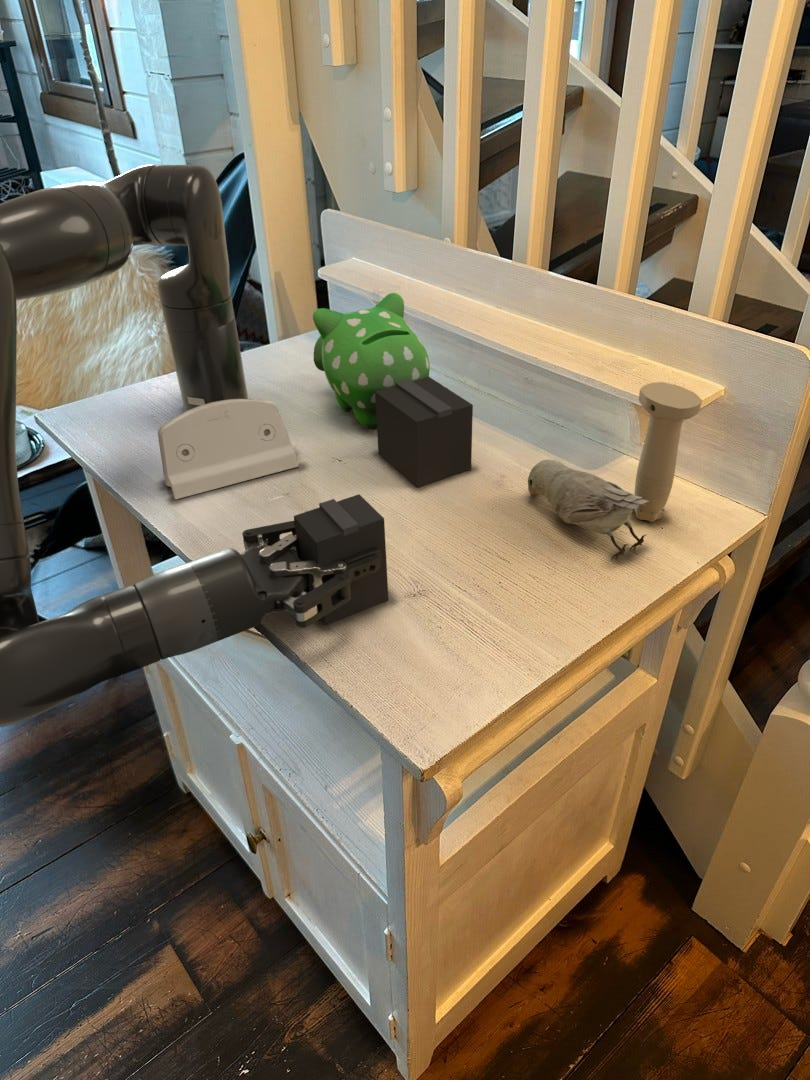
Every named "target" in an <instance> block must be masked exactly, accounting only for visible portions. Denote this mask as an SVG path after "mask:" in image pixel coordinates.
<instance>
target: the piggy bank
mask: <svg viewBox="0 0 810 1080" xmlns="http://www.w3.org/2000/svg"><path fill="white" fill-rule="evenodd" d="M404 314H405V301H404V299H403V297H402V295H400V294H399V293H396V292H391V293H388V294H386V295H385V296H384V297H383V298H382V299H381V300H379V302H377V303H376V304H375V305H374V306H373V307H368V308H364V309H359V310H355V311H350V312H346V313H343V312H339V311H336V310H332V309H329V308H324V307H322V308H317V309H316V310H314V311H313V313H312V321H313V324H314V326H315V327H316V330H317V331H318V334H319V337H318V338H317V340H316V341H315V344H314V347H313V362H314V365H315V367H316V368H317V369H318V370H319V371H321V372H324V374H325V377H326V380H327V383H328V385H329V386H330V388H331V390H332V391H333V392H334V395H335V398H336V402H337V405H338V406H339V407H340V408H341V410H342V411H344V412H351V411H353V413H354V416H355V418H356V420H357V421H358V422H359V424H360V425H361V426H363V427H364V428H366V429H369V430H372V429H377V419H376V401H375V391H378V390H382V389H385V388H389V387H393V386H395V383H396V382H400V381H403V380H407V379H409V380H411V381H414V380H418V379H422V378H425V377H430V370H431V369H430V367H431V366H430V363H431V362H430V358H429V355H428V352H427V349H426V347H425V346H424V344H423V342H422V341H421V339H420V338H419V337H418V336H417V335H416V334H415V332H414V331H413V330H412V329H411V327H410V326H409V324H407V322H406V321H405V319H404Z"/></svg>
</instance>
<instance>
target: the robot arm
mask: <svg viewBox="0 0 810 1080" xmlns="http://www.w3.org/2000/svg"><path fill="white" fill-rule="evenodd" d="M226 237H227V236H226V227H225V219H224V210H223V201H222V196H221V191H220V189H219V185H218V183H217V180H216V178H215V176H214V174H213V173H212V172H211V171H210V170H209V168H207V167H205V166H204V165H198V164H197V165H196V164H146V165H141V166H138V167H136V168H132V169H131V170H128V171H125V172H124V173H122V174H120V175H118V176H115V177H114V178H111V179H109V180H107V181H104V182H103V181H102V182H97V181H96V182H95V181H82V182H75V183H74V182H73V183H65V184H61V185H55V186H51V187H46V188H42V189H41V188H40V189H38V190H35V191H32V192H29V193H26V194H23V195H20V196H17V197H15V198H12V199H8V200H7V201H3V202H1V203H0V728H4V727H8V726H13V725H16V724H18V723H22V722H24V721H27V720H29V719H32V718H34V717H37V716H39V715H41V714H44V713H45V712H48V711H50V710H52V709H54V708H56V707H58V706H60V705H62V704H64V703H66V702H68V701H70V700H71V699H73V698H76V697H77V696H79V695H81V694H83V693H84V692H86V691H88V690H90V689H92V688H94V687H95V686H97V685H99V684H100V683H103V682H105V681H108V680H111V679H114V678H117V677H121V676H123V675H126V674H129V673H132V672H135V671H137V670H140V669H142V668H145V667H147V666H150V665H153V664H156V663H158V662H160V661H161V660H166V659H169V658H173V657H177V656H181V655H184V654H185V655H186V654H188V653H191V652H194V651H197V650H199V649H201V648H204V647H207V646H209V645H212V644H214V643H217V642H219V641H223V640H224V639H227V638H230V637H232V636H235V635H237V634H240V633H243V632H245V631H248V630H250V629H253V628H255V627H257V626H259V625H260V624H261V623H262V620H263V618H264V617H265V616H266V615H268V614H271V613H277V612H278V613H280V612H281V613H282V612H286V611H287V612H288V613H289V614H290V615H291V616H293V617H294V618H295V625H296V627H297V628H299V629H306V628H307V627H310V626H311V625H313V624H314V623H316V622H317V621H319V620H322V619H321V618H322V617H324V616H325V615H327V614H329V613H330V612H332V611H333V610H335V609H337V608H338V607H340V606H342V605H343V604H345V603H346V602H348V601H350V599H351V592H350V583H351V582H353V581H355V580H357V579H360V578H363V577H365V576H368V575H370V574H373V573H376V572H377V571H378V570H379V569H380V568H381V567H382V553H381V552H380V550H379V549H378V548H372V549H369V550H366V551H364V552H361V553H358V554H355V555H353V556H350V557H347V558H345V559H343V561H335V562H331V563H329V564H326V565H323V566H321V565H320V564H319V563H318V562H317V561H316V560H310V561H302V560H301V555H300V547H299V540H298V538H297V537H296V530H295V523H294V520H289V521H284V522H279V523H274V524H268V525H263V526H259V527H254V528H248V529H244V530H243V531H242V538H243V539H242V540H243V547H244V551H243V552H242V553H240V552H238V550H236V549H234V548H226V549H223V550H220V551H217V552H215V553H212V554H209V555H206V556H203V557H200V558H198V559H194V560H191V561H188V562H186V563H182V564H179V565H177V566H174V567H170V568H168V569H165V570H162V571H159V572H157V573H155V574H153V575H150V576H149V577H147V578H144V579H142V580H141V581H138V582H135V583H133V584H130V585H127V586H125V587H122V588H119V589H116V590H113V591H110V592H106V593H103V594H102V595H98V596H96V597H92V598H90V599H87V600H85V601H84V602H81V603H80V604H77V605H76V606H74V607H73V608H72V609H70V610H69V611H68V612H66V613H64V614H61V615H57V616H55V617H52V618H48V619H45V620H42V621H40V619H39V614H38V610H37V606H36V602H35V598H34V594H33V591H32V565H31V557H30V550H29V545H28V544H29V543H28V538H27V537H28V536H27V532H26V525H25V519H24V513H23V507H22V502H21V493H20V485H19V478H18V465H17V387H18V386H17V385H18V382H17V380H18V371H17V369H18V367H17V366H18V365H17V364H18V363H17V362H18V361H17V359H18V358H17V351H18V347H17V346H18V335H17V334H18V307H17V305H18V304H17V301H23V300H28V299H33V298H34V299H35V298H39V297H44V296H48V295H52V294H58V293H62V292H67V291H70V290H75V289H79V288H81V287H84V286H86V285H89V284H92V283H95V282H97V281H99V280H101V279H104V278H106V277H109V276H110V275H112V274H114V273H116V272H118V271H119V270H120V269H121V268H122V267H123V266H124V265H125V264H127V262H128V260H129V259H130V256H131V254H132V252H133V248H134V247H135V246H144V245H145V246H146V245H148V246H150V245H151V246H170V247H171V246H172V247H173V246H174V247H187V249H188V263H187V264H186V265H183V266H180V267H178V268H175V269H172V270H170V271H168V272H166V273H164V274H163V275H162V276H161V277H159V279H158V281H157V286H156V287H157V292H158V293H157V294H158V297H159V302H160V306H161V311H162V316H163V319H164V324H165V328H166V332H167V337H168V343H169V347H170V350H171V351H170V352H171V356H172V359H173V364H174V369H175V373H176V378H177V382H178V386H179V393H180V397H181V401H182V406H183V409H184V410H183V413H184V412H186V411H188V410H190V409H193V408H196V407H198V406H201V405H205V404H208V403H212V402H217V401H222V400H230V399H249V393H248V389H247V381H246V376H245V369H244V363H243V358H242V353H241V345H240V340H239V334H238V329H237V327H238V326H237V322H236V316H235V310H234V304H233V299H232V292H231V285H230V284H231V283H230V261H229V254H228V253H229V252H228V246H227V238H226ZM282 534H287V535H285V536H284V537H282V538H280V537H281V535H282ZM309 573H310V574H312V575H313V576H314V583H313V584H312V585H309V583H310V581H309ZM328 574H334V576H335V577H333V578H332V579H330V580H328V581H327V582H322V576H323V575H328ZM308 585H309V586H308ZM336 591H337V593H336V594H335V595H333V596H331V595H332V594H333V593H334V592H336Z"/></svg>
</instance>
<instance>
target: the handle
mask: <svg viewBox="0 0 810 1080" xmlns="http://www.w3.org/2000/svg"><path fill="white" fill-rule="evenodd" d="M638 393H639V394H638V401H639V403H640V405H641V406H642V408H643V409H644V410H645V411H646V412H647V413H648V414H649V418H648V423H647V428H646V433H645V437H644V441H643V445H642V449H641V453H640V457H639V461H638V465H637V470H636V475H635V482H634V495H636V496H639V497H642V498H640V499H643V500H646V501H649V502H646V503H644V504H645V505H639V506H638V507H637V509H633V512H634V513H635V517H636V518H637V519H638V520H644V521H647V522H650V523H653V522H655V521H657V520H660V519H662V518H663V515H664V513H665V511H666V509H665V507H666V505H667V503H668V500H669V498H670V494H671V492H672V487H673V484H674V479H675V474H676V466H677V459H678V452H679V445H680V437H681V432H682V431H681V430H682V425H683V421H684V420H688V419H691V418H693V417H695V416H697V415H698V414H699V413H700V411H701V407H702V402H703V400H702V399H701V397H700V396H699V395H697V394H696V393H695V392H694V391H692V390H690V389H687V388H685V387H684V386H681V385H676V384H673V383H670V382H669V383H668V382H663V381H658V382H650V383H646V384H645V385H643V386H641V387H640V389H639V392H638Z"/></svg>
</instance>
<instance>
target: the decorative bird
mask: <svg viewBox="0 0 810 1080" xmlns="http://www.w3.org/2000/svg"><path fill="white" fill-rule="evenodd" d="M527 489H528V492H529V494H530V496H531V497H539V496H541V497H544V498H545V499H547V502H548V503H549V505H550V506H551V507H552V508H553V509H554V511H555V512H556V514H557V515H558V517H559V518H560V519H561V521H562V522H563V523H566V524H574V525H575V526H579V527H580V528H583V529H585V530H587V531H592V532H595V533H597V534H601V535H606V536H608V537H609V538H610V540H611V542H612V544H613V545H614V547H615V548H616V549H617V550H618V552H616V553H615V554H613V555H612V557H611V558H610V562H612V561H613V559H614V558H615V560H616V561H618V557H619V556H625V554H624V553H625V552H626V547H627V546H628V545H629V543H626V544H624V545H622V547H621V546H620V545H619V544H618V543H617V542H616V540H615V537H614V533H613V532H615V531H617V530H618V529H620V527H622V526H623V525H624V526H625V527H627V528H628V529H629V532H630V535H631V536H632V537H633V538H634V539H635V540H636V541H637V542H635V543H633V544H632V545H631V546H630V548H629V551H628V552H629V553H630V552H631V550H632V549H633V551H636V548H637V547H638V546H641V547H643V543H645V539H644V538H645V537H646V536H647V534H642V535H641V537H640V538H639V537H638V536H637V535H636V534H635V532H634V529H633V527H632V524H631V522H630V520H629V518H630V516H631V515H632V513H633V510H634V509H637V507H638V506H639V505H645V504H644V503H646V502H649V501H646V500H643V499H640V498H642V497H639V496H636V495H635V494H634V493H633V492H630V491H626V490H624V489H623V488H622V487H621V486H619V485H617V484H616V483H613V482H610V481H608V480H606V479H604V478H602V477H599V476H597V475H595V474H592V473H590V472H586V471H582V470H578V469H573V468H571V467H569V466H567V465H565V464H564V463H562V462H560V461H558V460H555V459H542V460H540V461H539V462H537V463H536V464H535V465H534V466H533V467H532V469H531V470H530V472H529V475H528V477H527Z"/></svg>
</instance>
